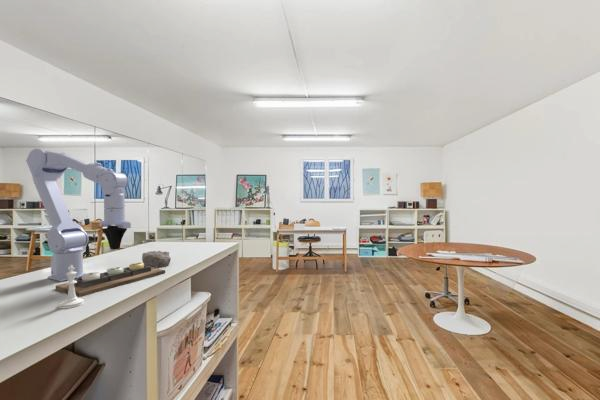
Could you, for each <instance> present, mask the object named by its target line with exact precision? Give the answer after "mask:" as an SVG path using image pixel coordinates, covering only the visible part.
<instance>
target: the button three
mask: <svg viewBox="0 0 600 400" xmlns="http://www.w3.org/2000/svg"><path fill="white" fill-rule="evenodd" d="M128 267H129V269H131V270H136V269H140V268H144V263H143V262H134V263H130V264H129V266H128Z"/></svg>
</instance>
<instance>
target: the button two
mask: <svg viewBox="0 0 600 400" xmlns="http://www.w3.org/2000/svg"><path fill="white" fill-rule="evenodd" d="M123 268H124V267H123V266H116V267H110V268H107V270H106V272H107V274H108V275H115V274H119V273H124V269H123Z"/></svg>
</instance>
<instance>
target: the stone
mask: <svg viewBox="0 0 600 400" xmlns="http://www.w3.org/2000/svg"><path fill="white" fill-rule="evenodd" d="M141 261H142V263H144V265H146V266H151V268H155V267H156V268H157V267H158V268H159V267H167V266H169V265H170V264H171V257H170V252H169V251H167V250H166V251H161V250H153V251H148V252H143V253H142V255H141Z"/></svg>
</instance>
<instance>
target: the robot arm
mask: <svg viewBox="0 0 600 400" xmlns="http://www.w3.org/2000/svg"><path fill="white" fill-rule="evenodd" d="M25 162H26V164H27V166H28V168H29V171H30V174H31V176H32V177H31V178H32V181H33V184H34V185H35V189H36V190H37V194H38V196H39V199H40V200H41V203H42V204H43V205H42V206H43V207H44V210H45V212H46V214H47V217H48V220H49V221H50V224H51V226H52V227H51V228H50V229H49V230H48V231H47V232H46V233H45V234H46V238H47V245H48V246H47V247H48V248H49V250H50V251H51V252H52V254H53V255H52V256H51V257H50V275H48V276H47V279H51V280H54V281H58V282H64V281H69V280H68V277H67V275H66V274H67V273H68V272H70V270H69V269H68V268H69V267H70V265H73V268H75V269H74V270H73V271H74V272H77V273H76V276H75V279H77V278H82V275H83V274H86V272H84V264H83V263H84V258H83V257H84V256H83V255H84V253H83V251H84V250H85V247H86V246H87V245H88V244H89V241H90V239H89V234H88V233H87V232H86V231H85V230H84V229H83V227H82V225H80V224H78V223H76V222H75V221H73V219H72V217H71V214H70V212H69V210H68V207H67V204H66V202H65V200H64V197H63V195H62V193H61V191H60V188H59V186H58V183H57V179H60V178H61V177H62V176H63V174H64V173H65V172H66V171H67V170H68V169H71V170H75V171H77V172H79V173H82V176H83V177H84V178H85V179H86V180H88V181H91V182H94V183H96V184H98V185H99V186H100V188H101V192H102V194H103V220H99V227H101V228H102V227H103V228H102V229H101V230H102V233H104V235H105V236H106V239H107V242H108V246H109V249H110V250H111V251H112V250H118V249H120V246H121V244H122V240H123V237H124V235H125V233H126V232H127V230H128V229H130V228H132V222H131V221H126V219H125V216H126V215H125V213H126V209H125V207H126V206H125V205H126V204H125V203H126V201H125V199H126V198H125V189H127V187H128V186H129V178H128V176H127V175H126V174H125V173H123V172H115V171H114V169H112V168H107V167H104V166H102V163H100V162H90V163H86V162H84V161H83V160H80V159H79V158H77V157H75V156H73V155H71V154H67V153H65V152H57V151H51V150H45V149H44V150H43V149H41V148H34V149H31V151H30V152H29V154H28V155H27V158H26V160H25ZM104 227H105V228H104Z"/></svg>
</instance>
